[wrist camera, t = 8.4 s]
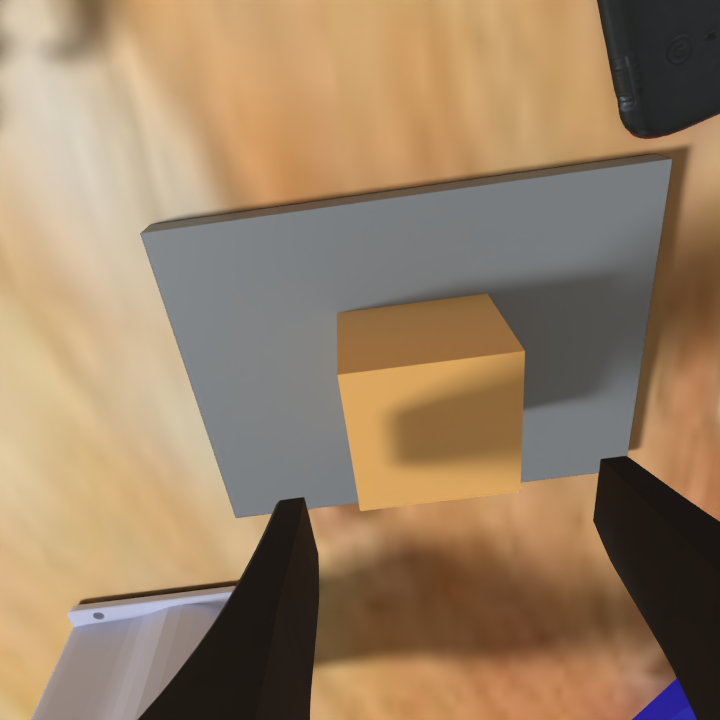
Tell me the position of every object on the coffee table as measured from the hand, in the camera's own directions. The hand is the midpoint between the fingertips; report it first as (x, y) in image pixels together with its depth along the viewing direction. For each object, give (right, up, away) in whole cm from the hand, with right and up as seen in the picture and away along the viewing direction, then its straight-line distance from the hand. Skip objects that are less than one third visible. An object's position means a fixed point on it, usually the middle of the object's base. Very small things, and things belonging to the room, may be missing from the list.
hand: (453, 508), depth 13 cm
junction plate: (0, +4, +7) cm, 8 cm away
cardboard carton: (0, +3, +6) cm, 7 cm away
